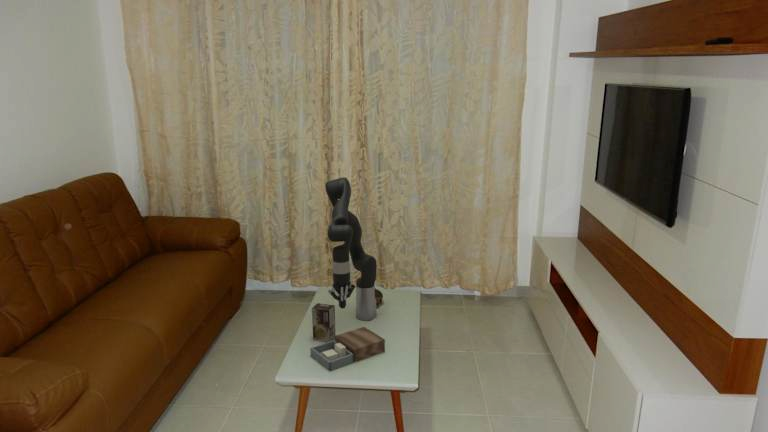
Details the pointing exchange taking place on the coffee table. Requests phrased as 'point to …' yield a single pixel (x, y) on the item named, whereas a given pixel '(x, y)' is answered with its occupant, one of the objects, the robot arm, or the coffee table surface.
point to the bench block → (362, 343)
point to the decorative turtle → (378, 296)
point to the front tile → (330, 355)
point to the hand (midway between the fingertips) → (342, 307)
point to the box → (329, 365)
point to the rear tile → (340, 350)
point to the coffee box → (323, 322)
